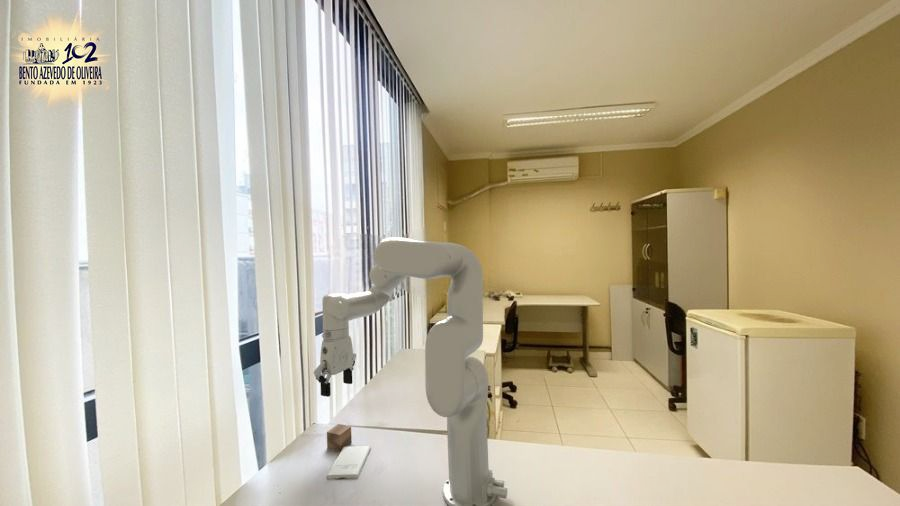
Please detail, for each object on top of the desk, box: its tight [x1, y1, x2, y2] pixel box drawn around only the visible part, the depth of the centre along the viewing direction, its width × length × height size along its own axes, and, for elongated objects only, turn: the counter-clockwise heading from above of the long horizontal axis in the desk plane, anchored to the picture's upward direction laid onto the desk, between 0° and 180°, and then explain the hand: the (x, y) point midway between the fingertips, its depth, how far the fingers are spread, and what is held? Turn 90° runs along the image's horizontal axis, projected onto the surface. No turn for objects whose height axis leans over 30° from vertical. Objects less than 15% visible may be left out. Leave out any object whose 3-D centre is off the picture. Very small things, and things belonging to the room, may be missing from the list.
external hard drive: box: [326, 445, 372, 480], centre depth 88 cm, size 2×8×12 cm
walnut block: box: [326, 423, 353, 453], centre depth 97 cm, size 5×5×5 cm
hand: (337, 389), depth 98 cm, fingers open, 9 cm apart
